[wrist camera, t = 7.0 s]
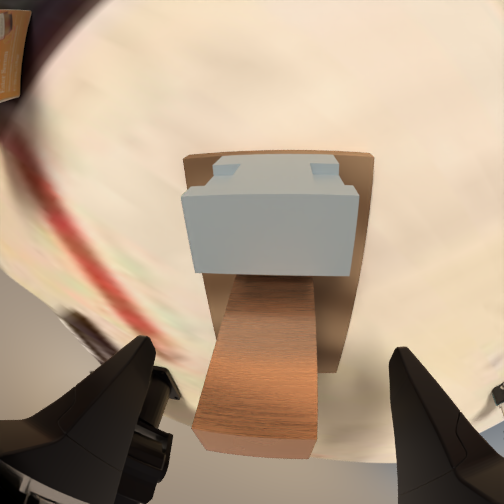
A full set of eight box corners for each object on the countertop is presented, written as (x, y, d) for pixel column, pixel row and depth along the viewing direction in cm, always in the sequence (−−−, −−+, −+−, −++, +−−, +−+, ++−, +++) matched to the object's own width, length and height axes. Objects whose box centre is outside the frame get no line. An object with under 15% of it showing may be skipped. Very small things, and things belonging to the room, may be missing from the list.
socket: (330, 209, 15) (349, 276, 9) (227, 208, 15) (195, 272, 10) (332, 154, 13) (359, 195, 8) (222, 155, 14) (180, 196, 9)
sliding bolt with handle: (299, 375, 19) (291, 493, 11) (255, 373, 19) (236, 488, 12) (312, 182, 12) (343, 369, 4) (238, 182, 12) (148, 354, 4)
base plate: (335, 363, 23) (336, 372, 22) (225, 359, 24) (223, 368, 23) (369, 153, 14) (374, 157, 13) (189, 154, 15) (182, 159, 14)
